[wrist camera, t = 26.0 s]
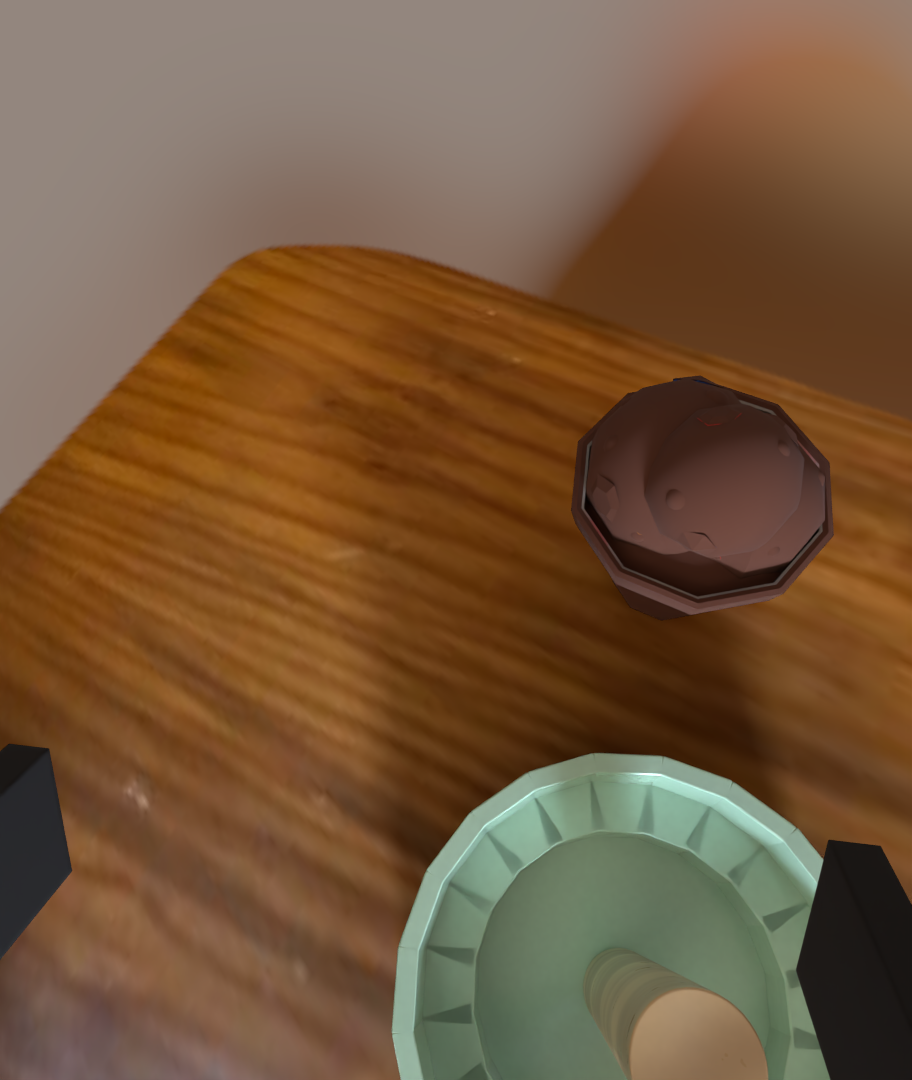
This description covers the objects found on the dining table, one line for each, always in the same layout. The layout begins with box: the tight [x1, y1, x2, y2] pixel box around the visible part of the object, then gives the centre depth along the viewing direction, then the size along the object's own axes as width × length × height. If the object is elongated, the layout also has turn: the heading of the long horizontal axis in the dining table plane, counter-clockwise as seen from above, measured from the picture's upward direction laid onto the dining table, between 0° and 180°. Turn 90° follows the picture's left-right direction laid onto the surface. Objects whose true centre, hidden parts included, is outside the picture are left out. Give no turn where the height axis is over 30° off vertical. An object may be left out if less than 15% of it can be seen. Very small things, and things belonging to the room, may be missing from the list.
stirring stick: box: [583, 948, 768, 1080], centre depth 25 cm, size 3×3×16 cm
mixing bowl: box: [392, 753, 830, 1080], centre depth 30 cm, size 18×18×6 cm
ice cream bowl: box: [571, 376, 834, 620], centre depth 34 cm, size 11×11×15 cm
